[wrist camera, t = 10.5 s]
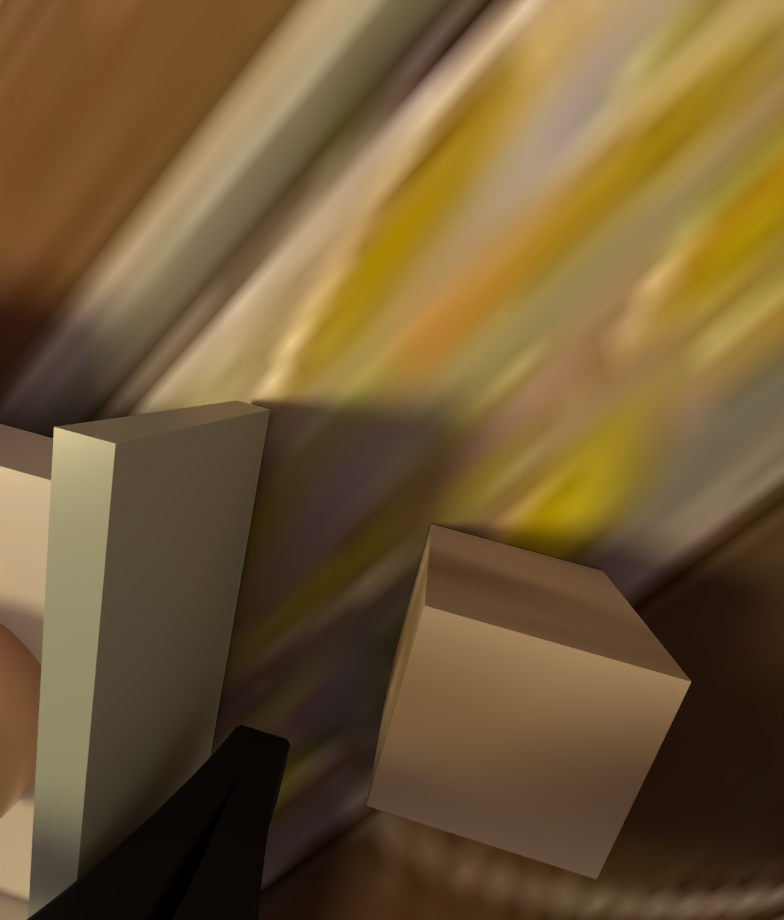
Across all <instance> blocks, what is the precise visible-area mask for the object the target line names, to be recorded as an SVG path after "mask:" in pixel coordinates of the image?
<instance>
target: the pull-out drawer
mask: <svg viewBox="0 0 784 920" xmlns="http://www.w3.org/2000/svg"><path fill="white" fill-rule="evenodd" d="M269 414H270V409H267V408H263V407H260V406H256V405H252V404H248V403H244V402H240V401H230V402H223V403H216V404H209V405H202V406H196V407H189V408H182V409H175V410H168V411H161V412H154V413H147V414H140V415H133V416H126V417H119V418H112V419H105V420H98V421H91V422H84V423H77V424H71V425H64V426H57V427H54V436H53V438H50V437H46V436H42V435H39V434H35V433H32V432H28V431H24V430H21V429H17V428H13V427H10V426H6V425H3V424H0V623H1V624H2V625H3V626H5V627H6V628H7V629H8V630H10V631H11V632H12V633H13V634H14V635H15V636H16V637H17V638H18V639H19V640H20V641H21V642H22V643H23V644H24V645H25V646H26V647H27V648H28V650H29V651H30V652H31V653H32V655H33V656H34V657H35V659H36V660H37V661H38V663H39V664H40V666H41V682H40V701H39V720H38V739H37V758H36V777H35V785H34V786H33V787H32V788H31V789H30V790H29V791H28V792H27V793H26V794H25V795H24V796H23V797H22V798H21V799H20V800H19V801H18V802H17V803H16V804H15V805H14V806H13V807H12V808H11V809H10V810H9V811H8V812H7V813H6V814H5V815H4V816H3V817H2V818H1V819H0V920H27V919H28V918H29V917H31V916H32V915H33V914H35V913H36V912H37V911H39V910H40V909H41V908H43V907H44V906H45V905H46V904H48V903H49V902H50V901H52V900H53V899H54V898H56V897H57V896H58V895H59V894H61V893H62V892H63V891H64V890H66V889H67V888H68V887H69V886H70V885H72V884H73V883H74V882H75V881H77V880H78V879H79V878H80V877H82V876H83V875H84V874H85V873H87V872H88V871H89V870H90V869H91V868H93V867H94V866H95V865H96V864H97V863H98V862H100V861H101V860H102V859H103V858H104V857H106V856H107V855H108V854H109V853H110V852H111V851H113V850H114V849H115V848H116V847H117V846H118V845H119V844H120V843H122V842H123V841H124V840H125V839H126V838H127V837H128V836H129V835H130V834H132V833H133V832H134V831H135V830H136V829H137V828H138V827H139V826H140V825H142V824H143V823H144V822H145V821H146V820H147V819H148V818H149V817H150V816H152V815H153V814H154V813H155V812H156V811H157V810H158V809H159V808H160V807H161V806H162V805H163V804H164V803H165V802H166V801H167V800H168V799H169V798H170V797H171V796H172V795H173V794H174V793H175V792H176V791H177V790H179V789H180V788H181V787H182V786H183V785H184V784H185V783H186V782H187V781H188V780H189V779H190V778H191V777H192V776H193V775H194V774H195V773H196V772H197V771H198V769H199V768H200V767H201V766H202V765H203V764H204V763H205V762H206V761H207V760H208V759H209V758H210V756H211V750H212V744H213V738H214V732H215V727H216V721H217V715H218V709H219V703H220V698H221V692H222V686H223V680H224V675H225V669H226V663H227V657H228V651H229V646H230V640H231V634H232V628H233V623H234V617H235V611H236V605H237V599H238V594H239V588H240V582H241V576H242V570H243V565H244V559H245V553H246V547H247V542H248V536H249V530H250V524H251V518H252V513H253V507H254V501H255V495H256V489H257V484H258V478H259V472H260V466H261V461H262V455H263V449H264V443H265V437H266V432H267V426H268V420H269Z"/></svg>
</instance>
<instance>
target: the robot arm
mask: <svg viewBox="0 0 784 920" xmlns="http://www.w3.org/2000/svg"><path fill="white" fill-rule="evenodd" d="M289 747H290V744H289V742H288V741H287V739H285V738H281V737H278V736H275V735H272V734H269V733H265V732H262V731H259V730H256V729H253V728H250V727H246V726H243V725H240V726H238V727H236V728H235V730H234V731H233V732H232V733H231V734H230V736H229V737H228V738H227V739H226V740H225V741H224V743H223V744H222V745H221V746H220V747H219V748H218V749H217V750H216V751H215V753H214V754H213V755H212V756H211V757H210V758H209V759H208V760H207V761H206V762H205V763H204V764H203V765H202V766H201V767H200V768H199V769H198V771H197V772H196V773H195V774H194V775H193V776H192V777H191V778H190V779H189V780H188V781H187V782H186V783H185V784H184V785H183V786H182V787H181V788H180V789H179V790H177V791H176V792H175V793H174V794H173V795H172V796H171V797H170V798H169V799H168V800H167V801H166V802H165V803H164V804H163V805H162V806H161V807H160V808H159V809H158V810H157V811H156V812H155V813H154V814H153V815H152V816H150V817H149V818H148V819H147V820H146V821H145V822H144V823H143V824H142V825H140V826H139V827H138V828H137V829H136V830H135V831H134V832H133V833H132V834H130V835H129V836H128V837H127V838H126V839H125V840H124V841H123V842H122V843H120V844H119V845H118V846H117V847H116V848H115V849H114V850H113V851H111V852H110V853H109V854H108V855H107V856H106V857H104V858H103V859H102V860H101V861H100V862H98V863H97V864H96V865H95V866H94V867H93V868H91V869H90V870H89V871H88V872H87V873H85V874H84V875H83V876H82V877H80V878H79V879H78V880H77V881H75V882H74V883H73V884H72V885H70V886H69V887H68V888H67V889H66V890H64V891H63V892H62V893H61V894H59V895H58V896H57V897H56V898H54V899H53V900H52V901H50V902H49V903H48V904H46V905H45V906H44V907H43V908H41V909H40V910H39V911H37V912H36V913H35V914H33V915H32V916H31V917H29V918H28V919H27V920H258V914H259V902H260V892H261V882H262V872H263V864H264V856H265V848H266V842H267V835H268V828H269V824H270V821H271V818H272V815H273V812H274V809H275V806H276V803H277V799H278V794H279V790H280V786H281V781H282V777H283V773H284V768H285V764H286V760H287V755H288V751H289Z"/></svg>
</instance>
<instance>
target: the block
mask: <svg viewBox="0 0 784 920" xmlns="http://www.w3.org/2000/svg"><path fill="white" fill-rule="evenodd" d="M690 684H691V681H690V679H689V678H688V677H687V676H686V674H685V673H684V672H683V671H682V669H681V668H680V667H679V666H678V664H677V663H676V662H675V660H674V659H673V658H672V657H671V655H670V654H669V653H668V652H667V650H666V649H665V648H664V647H663V645H662V644H661V643H660V642H659V640H658V639H657V638H656V637H655V635H654V634H653V633H652V632H651V630H650V629H649V628H648V627H647V625H646V624H645V623H644V622H643V620H642V619H641V618H640V617H639V615H638V614H637V613H636V612H635V610H634V609H633V608H632V607H631V605H630V604H629V603H628V601H627V600H626V599H625V598H624V596H623V595H622V594H621V593H620V591H619V590H618V589H617V588H616V586H615V585H614V584H613V583H612V581H611V580H610V579H609V578H608V576H607V575H606V574H605V573H604V571H602V570H598V569H594V568H591V567H587V566H583V565H580V564H576V563H572V562H569V561H565V560H561V559H558V558H554V557H550V556H547V555H543V554H539V553H536V552H532V551H528V550H525V549H521V548H517V547H514V546H510V545H506V544H503V543H499V542H495V541H492V540H488V539H484V538H481V537H477V536H473V535H470V534H466V533H462V532H459V531H455V530H451V529H448V528H444V527H440V526H437V525H433V524H431V527H430V530H429V534H428V537H427V541H426V544H425V548H424V551H423V555H422V559H421V562H420V566H419V569H418V573H417V576H416V580H415V584H414V587H413V591H412V594H411V598H410V601H409V605H408V609H407V612H406V616H405V619H404V623H403V626H402V630H401V633H400V637H399V641H398V644H397V648H396V651H395V655H394V658H393V662H392V666H391V670H390V676H389V681H388V687H387V693H386V698H385V704H384V709H383V715H382V721H381V726H380V732H379V738H378V743H377V749H376V754H375V760H374V766H373V771H372V777H371V783H370V788H369V794H368V799H367V805H366V806H369V807H372V808H375V809H378V810H381V811H384V812H387V813H391V814H394V815H397V816H400V817H403V818H406V819H409V820H412V821H416V822H419V823H422V824H425V825H428V826H431V827H434V828H437V829H441V830H444V831H447V832H450V833H453V834H456V835H459V836H463V837H466V838H469V839H472V840H475V841H478V842H481V843H484V844H488V845H491V846H494V847H497V848H500V849H503V850H506V851H509V852H513V853H516V854H519V855H522V856H525V857H528V858H531V859H534V860H538V861H541V862H544V863H547V864H550V865H553V866H556V867H559V868H563V869H566V870H569V871H572V872H575V873H578V874H581V875H584V876H588V877H591V878H594V879H597V877H598V875H599V873H600V871H601V869H602V867H603V865H604V863H605V861H606V859H607V857H608V855H609V852H610V850H611V848H612V846H613V844H614V842H615V840H616V838H617V836H618V834H619V832H620V830H621V827H622V825H623V823H624V821H625V819H626V817H627V815H628V813H629V811H630V809H631V807H632V805H633V803H634V800H635V798H636V796H637V794H638V792H639V790H640V788H641V786H642V784H643V782H644V780H645V778H646V775H647V773H648V771H649V769H650V767H651V765H652V763H653V761H654V759H655V757H656V755H657V753H658V750H659V748H660V746H661V744H662V742H663V740H664V738H665V736H666V734H667V732H668V730H669V728H670V726H671V723H672V721H673V719H674V717H675V715H676V713H677V711H678V709H679V707H680V705H681V703H682V701H683V698H684V696H685V694H686V692H687V690H688V688H689V686H690Z"/></svg>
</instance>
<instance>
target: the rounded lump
mask: <svg viewBox="0 0 784 920" xmlns="http://www.w3.org/2000/svg"><path fill="white" fill-rule="evenodd" d="M40 682H41V666H40V664H39V663H38V661H37V660H36V659H35V657H34V656H33V655H32V653H31V652H30V651H29V650H28V648H27V647H26V646H25V645H24V644H23V643H22V642H21V641H20V640H19V639H18V638H17V637H16V636H15V635H14V634H13V633H12V632H11V631H10V630H8V629H7V628H6V627H5V626H3V625H2V624H1V623H0V819H1V818H2V817H3V816H4V815H5V814H6V813H7V812H8V811H9V810H10V809H11V808H12V807H13V806H14V805H15V804H16V803H17V802H18V801H19V800H20V799H21V798H22V797H23V796H24V795H25V794H26V793H27V792H28V791H29V790H30V789H31V788H32V787H33V786H34V785H35V777H36V758H37V739H38V720H39V701H40Z"/></svg>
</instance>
